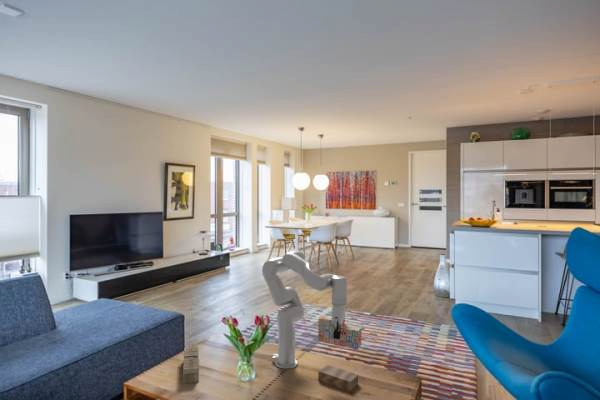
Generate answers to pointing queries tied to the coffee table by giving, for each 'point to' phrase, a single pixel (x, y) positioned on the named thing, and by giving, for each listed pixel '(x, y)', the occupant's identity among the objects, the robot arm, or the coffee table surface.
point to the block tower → (191, 365)
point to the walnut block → (338, 377)
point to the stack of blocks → (348, 333)
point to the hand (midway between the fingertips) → (338, 335)
